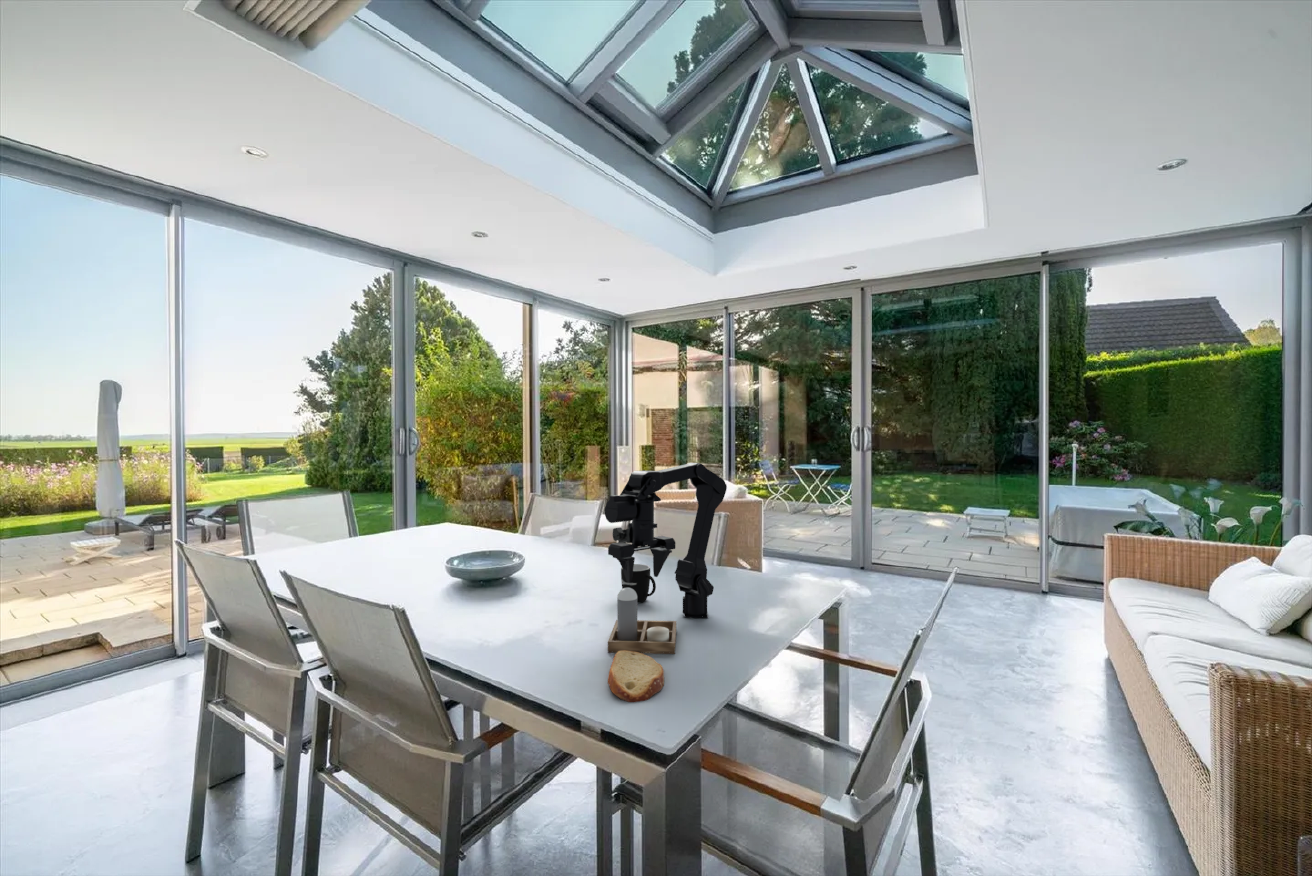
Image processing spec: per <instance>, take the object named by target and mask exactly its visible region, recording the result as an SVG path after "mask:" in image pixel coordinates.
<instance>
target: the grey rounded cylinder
mask: <svg viewBox="0 0 1312 876" xmlns="http://www.w3.org/2000/svg"><path fill="white" fill-rule="evenodd" d="M616 598H617V601H616V602H617V603H616V606H617V608H616V609H617V611H616V612H617V615H616V616H617V619H616V620H617V641H637V620H638V603H637V594H636V592H635V591H634V590H633V589H632V588H628V587H627V588H623V589H622V588H621V589H620V590H619V592H618V593H617V597H616Z"/></svg>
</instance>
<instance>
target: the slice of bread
mask: <svg viewBox="0 0 1312 876" xmlns="http://www.w3.org/2000/svg"><path fill="white" fill-rule="evenodd" d="M607 684H608V685H609V686H608V687H609V689H610V692H611V693H612V694H613V695H615V696H616V697H618V699H620V700H622V701H625V702H627V703H637V702H638V703H640V702H644V701H645V702H646V701H648V700H650V699H651V698H652V696H655V695H656V694H657V693H659V692H661V690H662V689H663V687H664V686H665V673H664V667H663V666H662V664H661V663H658V662H657V661H656V660H655V658H653V657H652V656H649V655H646V653H639V652H633V651H626V650H623V651H618V652H617V653H614V657H613V658H612V662H611V665H610V668H609V671H608V677H607Z"/></svg>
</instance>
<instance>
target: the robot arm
mask: <svg viewBox="0 0 1312 876" xmlns="http://www.w3.org/2000/svg"><path fill="white" fill-rule="evenodd" d="M686 480H687V481H688V480H690V483H691V484H692V487H694V488H696V489H695V498H696V501H697V510H696V511H697V512H696V515H695V518H694V519H695V520H694V524H693V528H692V533H691V537H690V539H689V540H690V542H689V545H688V549H687V554H686V556H685V557H684V558H683V559H680V558H679V559H678V560H677V562H676V569H675V570H674V574H675V581H676V584H677V585H678V589H679V591H680V592H684V596H682V614H684V615H683V617H684V618H687V619H689V618H690V619H691V618H693V619H708V617H709V613H708V597H709V596H711V595H713V594H714V585H713V584H712V583H711V582H710V581H709V580H708V579H707V577H708V576H707V575H708V569H707V564H706V560H705V557H706V553H707V548H708V543H709V539H710V535H711V531H712V528H713V527H712V526H713V522H714V518H715V513H716V510H717V508H718V507H719V506H720V505H721V504H722V502H723V501H724V498H725V495H726V493H727V489H728V487H727V483H726V482H725V479H723V478H722V477H720V476H718V474H716V473H714V472H713V471H711V470H710V469H708V468H707V467H706V466H705V465H704V464H703V463H700V462H688V463H686V464H681V465H677V466H672V467H668V468H665V469H660V470H633V471H632V472H631V473H630V475H629V479H628V480H627V482H626V484H625V486H624V487H623V489H622V491H621V492H620V494H619V495H617V494H613V495H612V494H610V495H609V499H608V500H607V502H606V504H605V507H604V516H605V520H607V522H608V523H610V524H614V523H622V522H629V523H628V525H627V528H626V529H623V528H622V527H614V528H612V539H613V541H614V542H612V543H610V544H609V545H608V548H607V555H608V556H611V557H612V558H613V559H616V560H617V561H618V563H619V564H620V567H622V569H623V572H624V575H625V578H626V580H627V582H628V583H631V579H632V574H633V567H634V564H635V560H636V557H634V556H633V555H634V554H635V552H638V551H644V550H650V552H651V554H652V560H653V561H652V562H653V564H652V567H653V568H652V569H653V570H652V571H653V578H654V577H655V578H658V577H659V575H660V573H661V570H662V568H663V566H664V564H665V563H666V561H667V559H668V558H669V555H670V554H671V553H672V552H673V550H676V540H675V539H674V538H673V537H670V536H664V535H661V536H659V535H658V536H655V529H657V528H658V523H655V503H656V502H661V498H660V497H659V496H658V495H657V494H656V492H658V491H660V490H662V489H663V487H665V486H667V485H671V484H674V483H679V482H683V481H686ZM617 541H618V542H617Z"/></svg>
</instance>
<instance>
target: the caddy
mask: <svg viewBox="0 0 1312 876" xmlns="http://www.w3.org/2000/svg"><path fill="white" fill-rule="evenodd" d="M676 643H677V620H649V619H648V620H646V619H645V620H643V619H642V620H641V619H637V641H617V619H616V620H615V623H614V625H613V627H612V631H611V633H610V636H609V638H608V640H607V653H613V654H616V653H617V652H618V651H623V650H626V651H633V652H639V653H642V654H655V655H657V654H660V655H661V654H662V655H663V654H664V655H665V654H666V655H667V654H668V655H675V654H676Z"/></svg>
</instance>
